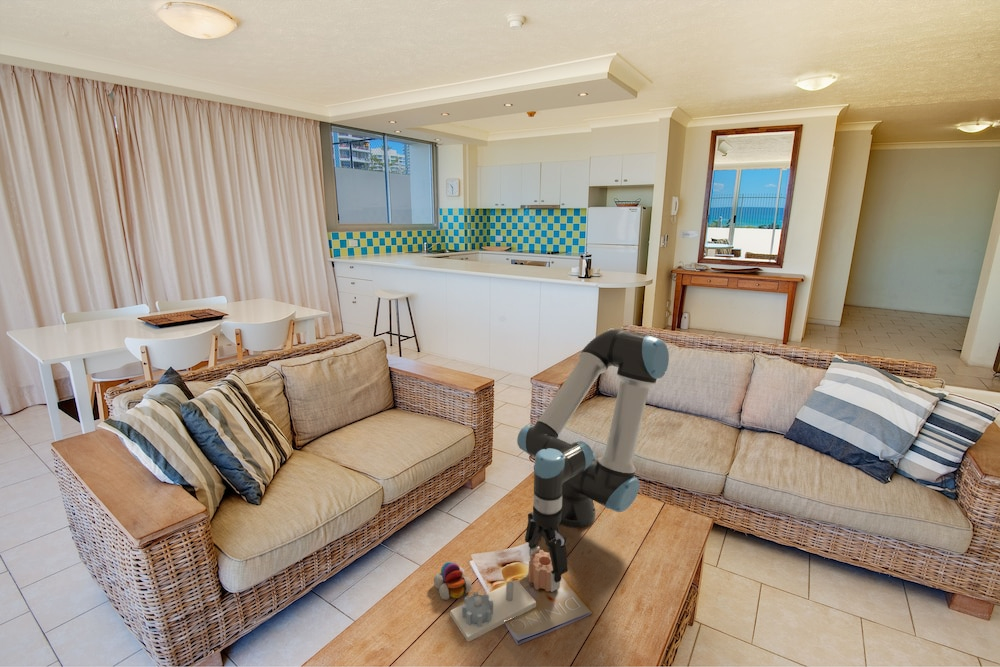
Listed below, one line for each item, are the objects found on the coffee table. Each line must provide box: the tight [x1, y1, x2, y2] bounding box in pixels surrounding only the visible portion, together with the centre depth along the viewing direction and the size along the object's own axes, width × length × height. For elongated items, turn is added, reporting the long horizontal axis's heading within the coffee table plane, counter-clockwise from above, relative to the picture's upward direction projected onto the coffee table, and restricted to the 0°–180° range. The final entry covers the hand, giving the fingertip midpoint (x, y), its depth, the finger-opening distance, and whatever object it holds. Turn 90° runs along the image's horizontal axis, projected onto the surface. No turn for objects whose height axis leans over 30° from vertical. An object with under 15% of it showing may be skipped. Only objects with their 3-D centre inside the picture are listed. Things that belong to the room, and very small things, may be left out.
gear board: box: [449, 579, 537, 643], centre depth 120 cm, size 9×20×6 cm, turn 123°
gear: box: [528, 549, 553, 592], centre depth 130 cm, size 8×8×6 cm
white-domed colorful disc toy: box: [433, 561, 472, 601], centre depth 127 cm, size 8×10×7 cm
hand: (544, 578), depth 131 cm, fingers closed on gear, 8 cm apart
